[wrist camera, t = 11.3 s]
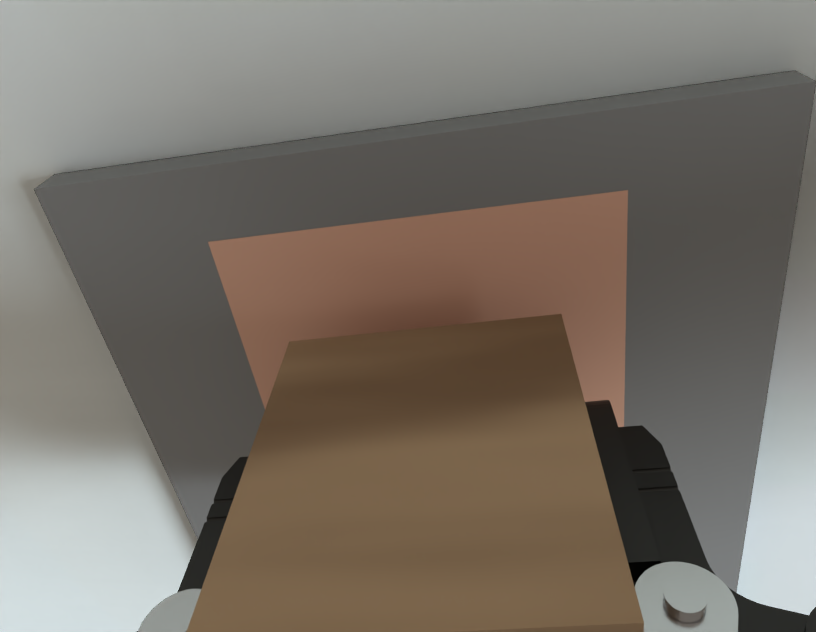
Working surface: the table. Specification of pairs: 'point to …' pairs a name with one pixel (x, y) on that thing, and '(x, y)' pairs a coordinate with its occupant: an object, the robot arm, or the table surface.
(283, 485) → the walnut block
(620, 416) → the board
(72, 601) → the table surface
